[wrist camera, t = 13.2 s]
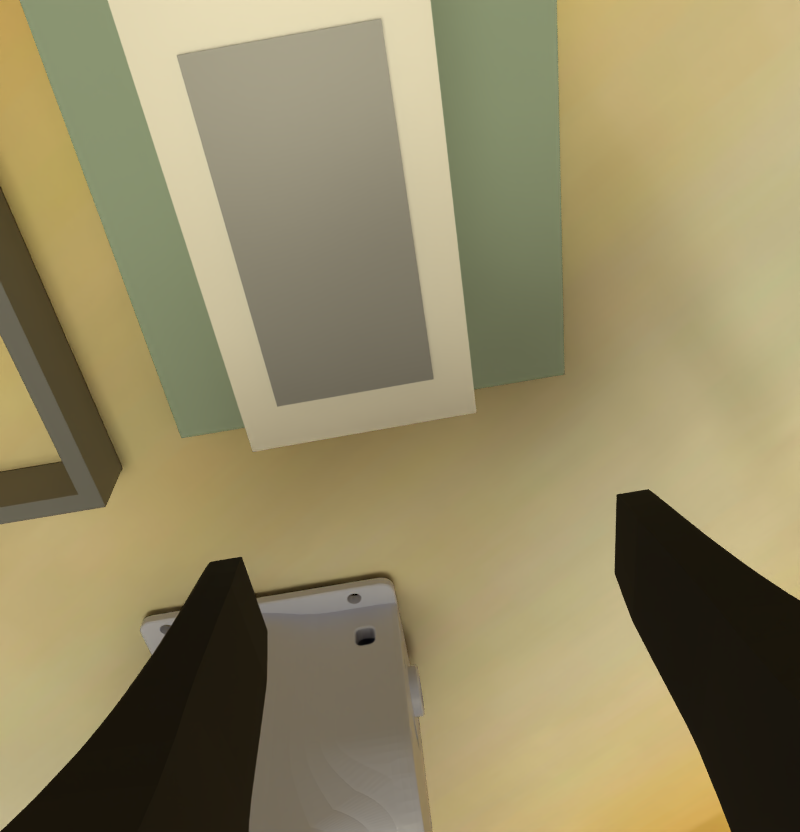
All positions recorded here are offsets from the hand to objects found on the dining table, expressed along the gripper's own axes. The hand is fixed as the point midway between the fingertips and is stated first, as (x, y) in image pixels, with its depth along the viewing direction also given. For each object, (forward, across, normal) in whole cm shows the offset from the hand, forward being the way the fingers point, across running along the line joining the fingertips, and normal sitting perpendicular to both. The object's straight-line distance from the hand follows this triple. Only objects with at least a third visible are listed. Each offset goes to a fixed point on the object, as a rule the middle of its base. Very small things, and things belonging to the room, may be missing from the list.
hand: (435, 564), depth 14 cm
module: (+9, +1, -6) cm, 11 cm away
